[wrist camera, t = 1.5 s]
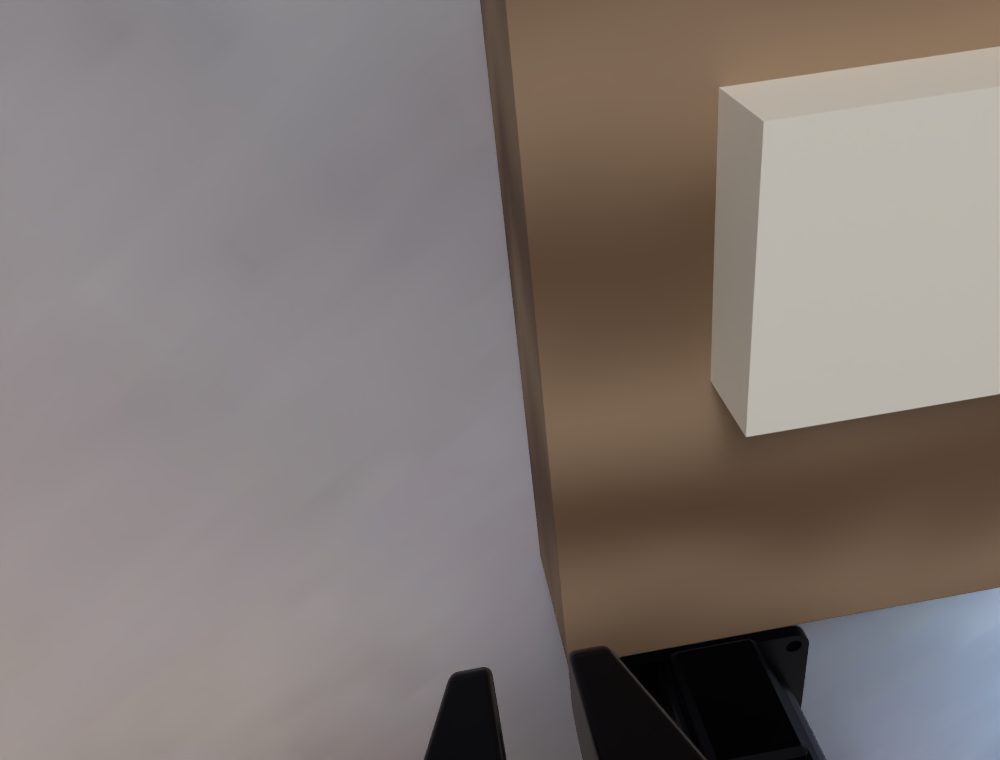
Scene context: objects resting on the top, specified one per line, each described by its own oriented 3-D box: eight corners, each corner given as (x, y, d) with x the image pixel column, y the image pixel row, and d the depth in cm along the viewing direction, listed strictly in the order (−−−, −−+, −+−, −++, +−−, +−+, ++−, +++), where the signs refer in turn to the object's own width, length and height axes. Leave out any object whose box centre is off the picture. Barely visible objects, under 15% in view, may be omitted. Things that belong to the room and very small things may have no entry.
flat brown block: (1000, 475, 27) (1092, 570, 24) (540, 556, 26) (568, 666, 23) (1265, -552, 15) (1529, -657, 12) (429, -463, 14) (453, -547, 11)
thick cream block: (1121, 312, 19) (1196, 360, 17) (710, 380, 19) (745, 437, 17) (1214, 15, 16) (1317, 38, 14) (719, 87, 15) (763, 121, 14)
